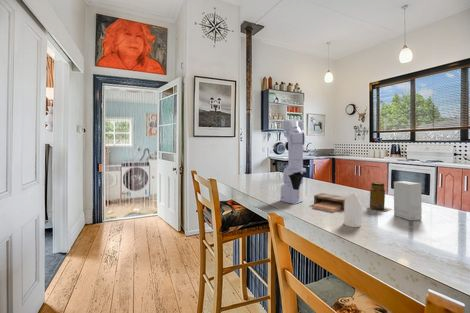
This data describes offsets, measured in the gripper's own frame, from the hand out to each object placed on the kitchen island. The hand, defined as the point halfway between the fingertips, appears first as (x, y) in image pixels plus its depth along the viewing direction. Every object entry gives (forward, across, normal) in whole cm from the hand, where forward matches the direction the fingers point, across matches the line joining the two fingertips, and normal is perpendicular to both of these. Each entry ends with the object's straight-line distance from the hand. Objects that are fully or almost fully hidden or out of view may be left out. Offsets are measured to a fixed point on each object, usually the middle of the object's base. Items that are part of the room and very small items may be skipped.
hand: (295, 189), depth 111 cm
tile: (+10, +17, -8) cm, 22 cm away
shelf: (+10, +21, -8) cm, 25 cm away
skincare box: (+10, +24, -38) cm, 46 cm away
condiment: (+10, +31, -26) cm, 42 cm away
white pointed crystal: (+10, -1, -25) cm, 27 cm away
